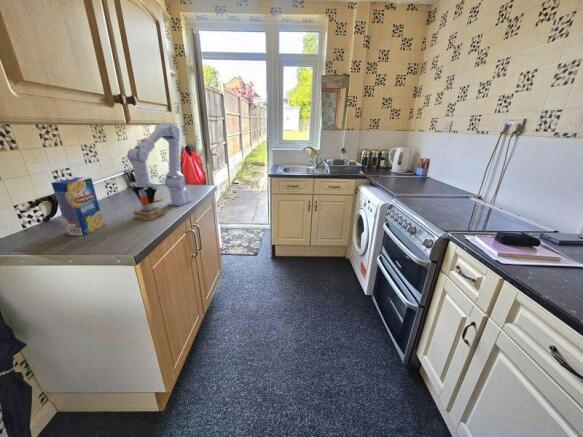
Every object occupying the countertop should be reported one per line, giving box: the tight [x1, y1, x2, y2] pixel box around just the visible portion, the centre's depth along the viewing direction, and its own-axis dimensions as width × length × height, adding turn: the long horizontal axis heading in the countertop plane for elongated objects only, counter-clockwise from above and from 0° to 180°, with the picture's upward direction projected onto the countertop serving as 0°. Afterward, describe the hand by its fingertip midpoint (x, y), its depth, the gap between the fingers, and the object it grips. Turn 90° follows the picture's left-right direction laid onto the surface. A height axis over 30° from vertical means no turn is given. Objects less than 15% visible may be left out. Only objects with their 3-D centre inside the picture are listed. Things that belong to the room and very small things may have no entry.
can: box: [138, 188, 155, 212], centre depth 121 cm, size 5×5×11 cm
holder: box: [133, 206, 165, 221], centre depth 124 cm, size 9×9×4 cm
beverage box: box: [50, 176, 105, 236], centre depth 103 cm, size 7×11×22 cm, turn 176°
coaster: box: [153, 197, 162, 203], centre depth 150 cm, size 9×9×1 cm
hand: (147, 201), depth 122 cm, fingers closed on can, 5 cm apart
